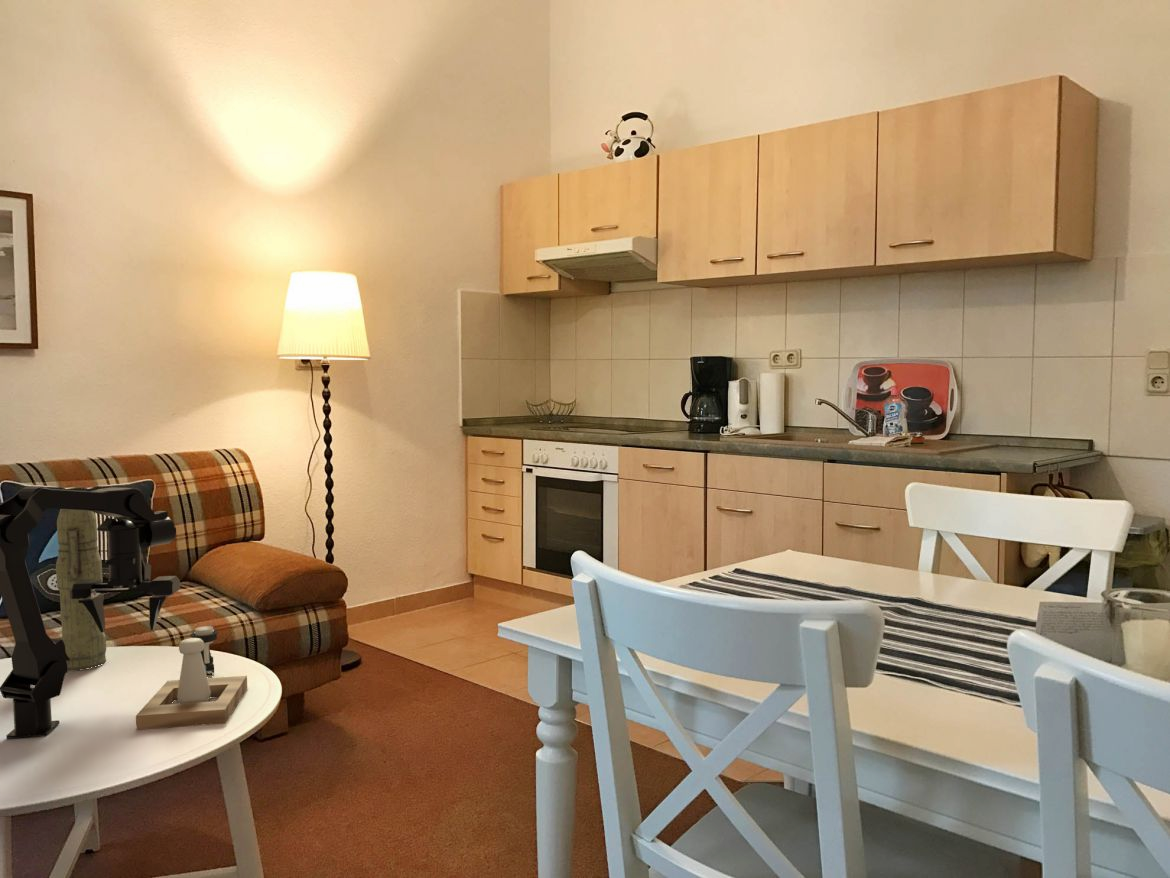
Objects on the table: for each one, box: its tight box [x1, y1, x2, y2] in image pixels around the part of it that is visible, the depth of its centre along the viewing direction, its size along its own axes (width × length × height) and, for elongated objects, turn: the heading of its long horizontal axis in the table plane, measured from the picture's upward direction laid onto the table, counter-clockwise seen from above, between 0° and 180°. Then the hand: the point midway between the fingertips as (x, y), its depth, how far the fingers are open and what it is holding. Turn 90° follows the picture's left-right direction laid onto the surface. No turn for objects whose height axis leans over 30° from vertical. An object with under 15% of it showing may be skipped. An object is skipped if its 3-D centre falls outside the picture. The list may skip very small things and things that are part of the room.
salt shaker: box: [177, 637, 211, 704], centre depth 177 cm, size 6×6×13 cm
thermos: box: [55, 509, 107, 671], centre depth 206 cm, size 9×12×35 cm
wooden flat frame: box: [135, 675, 248, 731], centre depth 177 cm, size 20×15×2 cm
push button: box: [189, 625, 219, 678], centre depth 196 cm, size 7×5×10 cm
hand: (127, 630), depth 185 cm, fingers open, 9 cm apart
